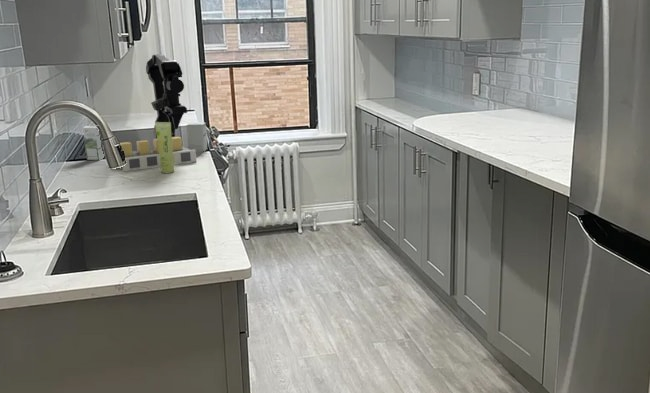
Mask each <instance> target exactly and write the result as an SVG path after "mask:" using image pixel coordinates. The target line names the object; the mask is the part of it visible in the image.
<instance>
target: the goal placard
mask: <svg viewBox="0 0 650 393" xmlns="http://www.w3.org/2000/svg"><path fill="white" fill-rule="evenodd" d="M126 161H127V164H126V165H125V166H123V169H122V172H128V171H136V170H144V169H151V168H159V167H160V168H161V164H160V155H159V154H154V155H146V156H137V157H129V158H126ZM173 161H174V164H175V165H182V164H189V163H188V162H190V163H196V162H195V161H197V152H196V150H187V151H178V152H173ZM181 163H182V164H181Z"/></svg>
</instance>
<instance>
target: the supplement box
mask: <svg viewBox="0 0 650 393" xmlns="http://www.w3.org/2000/svg"><path fill="white" fill-rule="evenodd" d="M186 135H187V136H186V137H187V149H190V150H196V153H204V152H206V151H207V150H208V142H207V140H208V139H207V126H206V122H202V121H201V122H200V121H199V122H189V123H188V124H186ZM206 149H207V150H206ZM203 151H204V152H203Z"/></svg>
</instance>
